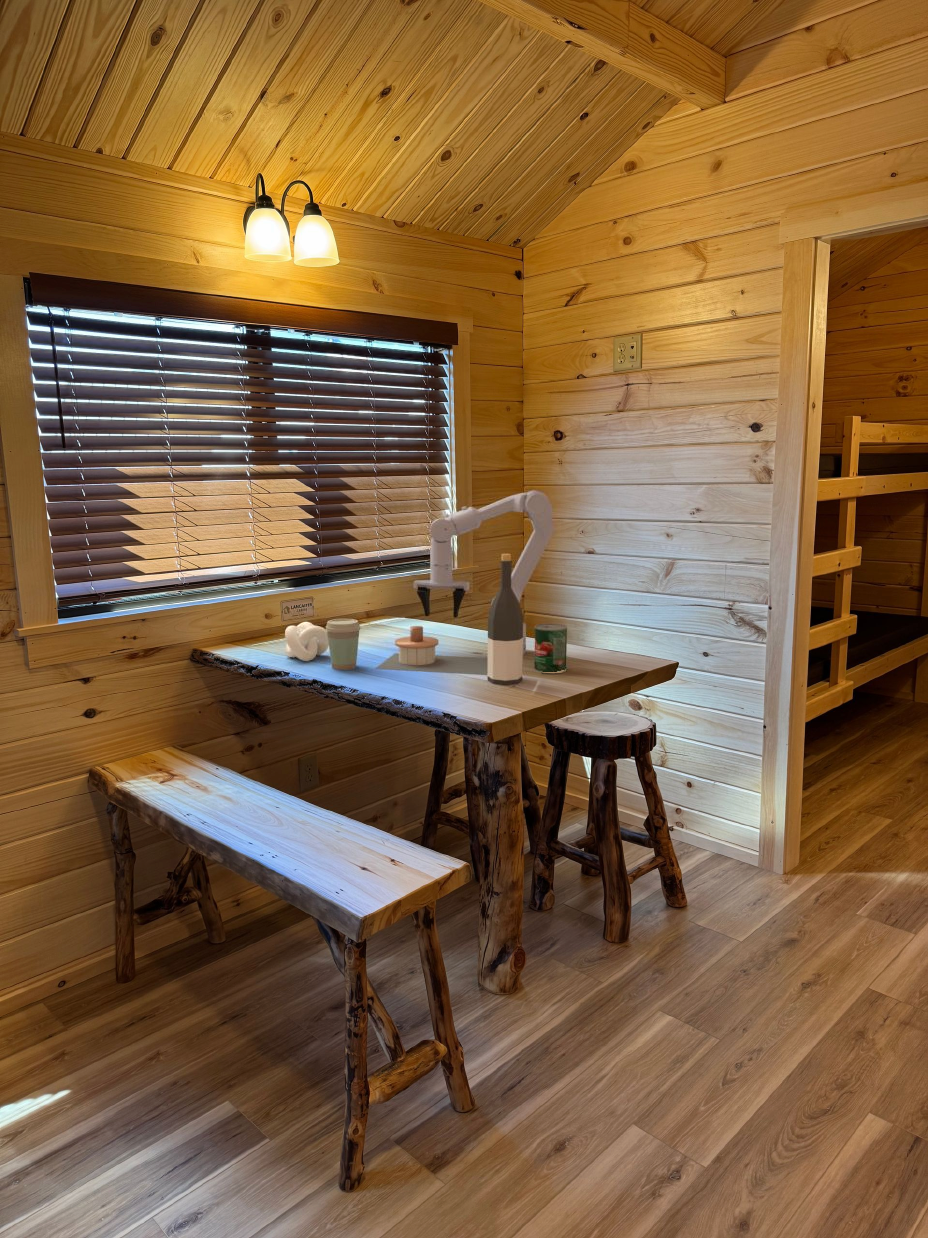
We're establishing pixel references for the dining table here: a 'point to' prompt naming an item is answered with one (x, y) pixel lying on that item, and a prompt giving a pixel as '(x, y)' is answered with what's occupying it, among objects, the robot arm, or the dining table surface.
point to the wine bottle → (505, 632)
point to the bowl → (417, 656)
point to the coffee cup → (343, 642)
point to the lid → (416, 639)
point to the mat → (441, 665)
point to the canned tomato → (550, 647)
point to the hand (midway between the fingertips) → (441, 616)
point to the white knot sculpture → (306, 641)
